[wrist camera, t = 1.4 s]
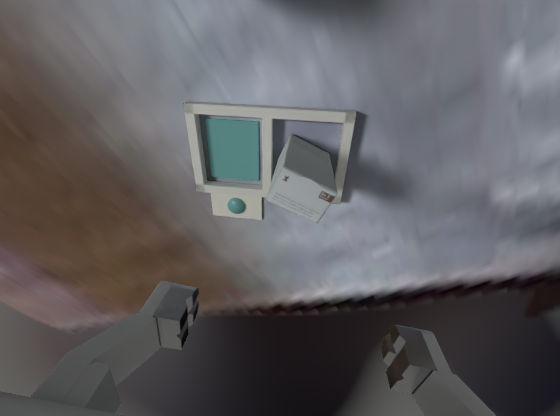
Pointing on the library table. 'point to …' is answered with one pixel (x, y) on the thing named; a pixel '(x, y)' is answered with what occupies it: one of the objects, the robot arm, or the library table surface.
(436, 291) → the library table surface
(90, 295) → the library table surface
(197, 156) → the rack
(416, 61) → the library table surface
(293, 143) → the skincare box
